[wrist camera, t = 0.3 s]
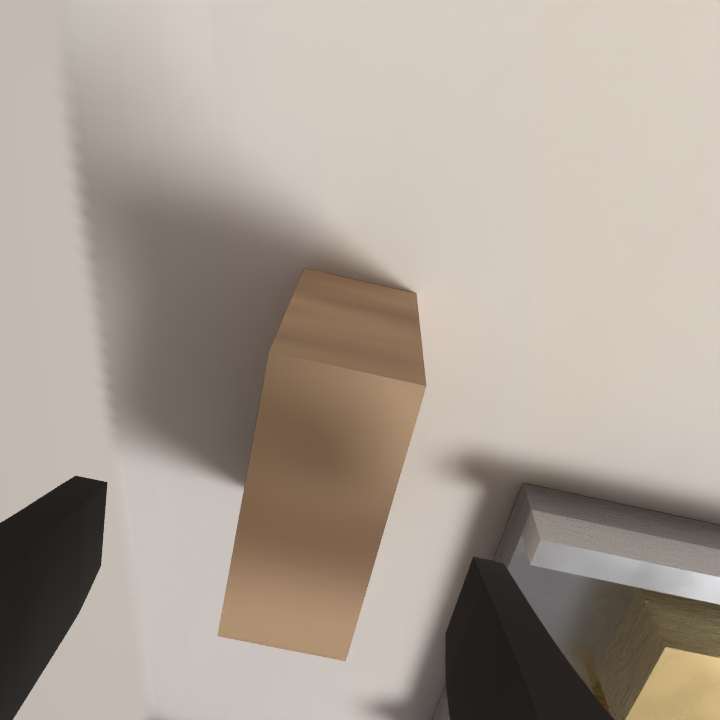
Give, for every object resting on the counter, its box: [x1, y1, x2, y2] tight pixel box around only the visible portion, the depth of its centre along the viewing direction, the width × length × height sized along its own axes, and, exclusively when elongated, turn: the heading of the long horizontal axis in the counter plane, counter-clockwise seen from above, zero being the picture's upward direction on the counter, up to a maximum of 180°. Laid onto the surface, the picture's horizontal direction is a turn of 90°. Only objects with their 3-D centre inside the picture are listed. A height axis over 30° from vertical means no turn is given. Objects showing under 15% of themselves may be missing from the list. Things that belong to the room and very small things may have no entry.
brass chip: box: [596, 589, 720, 720], centre depth 23 cm, size 4×4×2 cm
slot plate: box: [432, 483, 720, 720], centre depth 25 cm, size 13×10×3 cm
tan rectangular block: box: [218, 268, 426, 661], centre depth 19 cm, size 8×4×6 cm, turn 168°
